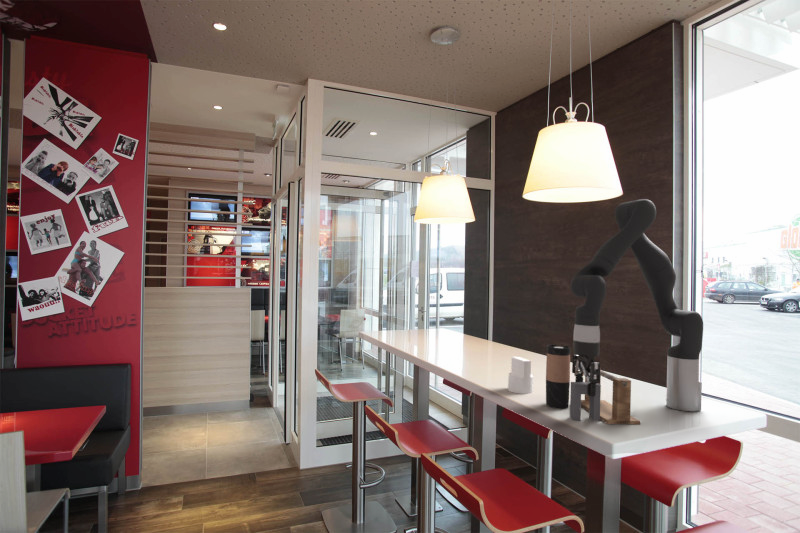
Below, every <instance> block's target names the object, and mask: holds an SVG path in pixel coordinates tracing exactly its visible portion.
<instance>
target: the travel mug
mask: <svg viewBox="0 0 800 533" xmlns="http://www.w3.org/2000/svg"><path fill="white" fill-rule="evenodd" d="M570 378H571V347H570V346H569V345H564V346H558V345H557V344H547V345H546V366H545V403H546V406H547V407H549V408H552V409H558V410H559V409H560V410H562V409H563V410H564V409H568V408H569V406H570V405H569V404H570V388H571V379H570Z"/></svg>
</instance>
